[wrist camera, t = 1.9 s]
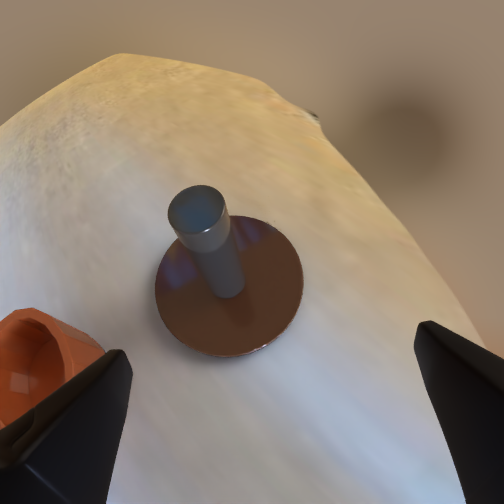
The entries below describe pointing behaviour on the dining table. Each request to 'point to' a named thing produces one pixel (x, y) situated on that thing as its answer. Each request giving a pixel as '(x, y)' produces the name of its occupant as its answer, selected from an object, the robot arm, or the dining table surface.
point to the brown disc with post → (225, 277)
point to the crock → (38, 359)
